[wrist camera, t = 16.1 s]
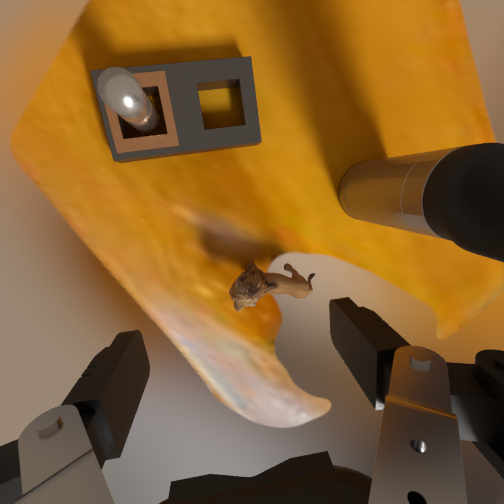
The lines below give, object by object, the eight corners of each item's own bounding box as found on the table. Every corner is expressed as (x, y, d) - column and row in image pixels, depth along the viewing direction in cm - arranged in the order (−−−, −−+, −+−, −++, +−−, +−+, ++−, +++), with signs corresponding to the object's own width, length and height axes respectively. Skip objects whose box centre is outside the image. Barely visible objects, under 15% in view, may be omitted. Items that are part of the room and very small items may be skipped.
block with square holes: (247, 66, 36) (251, 55, 33) (257, 145, 39) (262, 141, 36) (99, 80, 34) (89, 69, 31) (120, 162, 37) (112, 160, 34)
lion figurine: (226, 293, 44) (231, 320, 35) (225, 262, 42) (230, 281, 34) (313, 286, 46) (337, 310, 37) (314, 256, 45) (340, 273, 36)
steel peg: (157, 103, 36) (134, 65, 24) (163, 132, 37) (144, 109, 25) (129, 106, 35) (92, 68, 24) (136, 136, 36) (103, 113, 25)
